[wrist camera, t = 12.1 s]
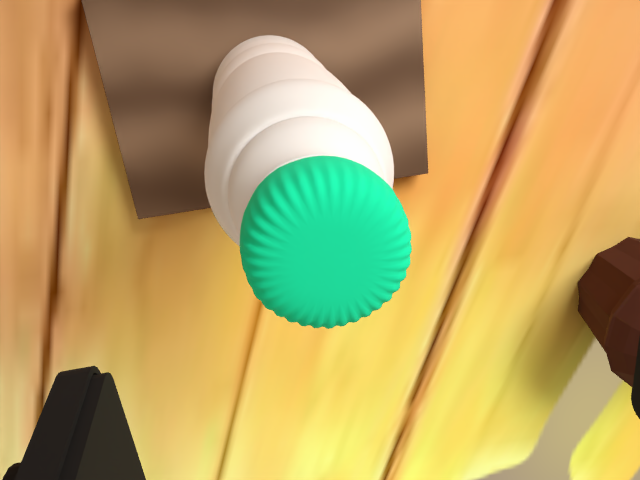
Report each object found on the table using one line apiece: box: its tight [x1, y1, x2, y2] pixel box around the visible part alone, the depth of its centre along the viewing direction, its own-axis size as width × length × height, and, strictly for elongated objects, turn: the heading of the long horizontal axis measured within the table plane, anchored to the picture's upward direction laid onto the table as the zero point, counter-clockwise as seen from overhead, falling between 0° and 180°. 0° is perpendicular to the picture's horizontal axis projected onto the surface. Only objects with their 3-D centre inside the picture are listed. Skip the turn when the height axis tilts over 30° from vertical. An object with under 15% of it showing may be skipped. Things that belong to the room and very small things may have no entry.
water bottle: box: [204, 35, 412, 329], centre depth 27 cm, size 7×7×25 cm
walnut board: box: [82, 0, 428, 219], centre depth 39 cm, size 14×20×2 cm
